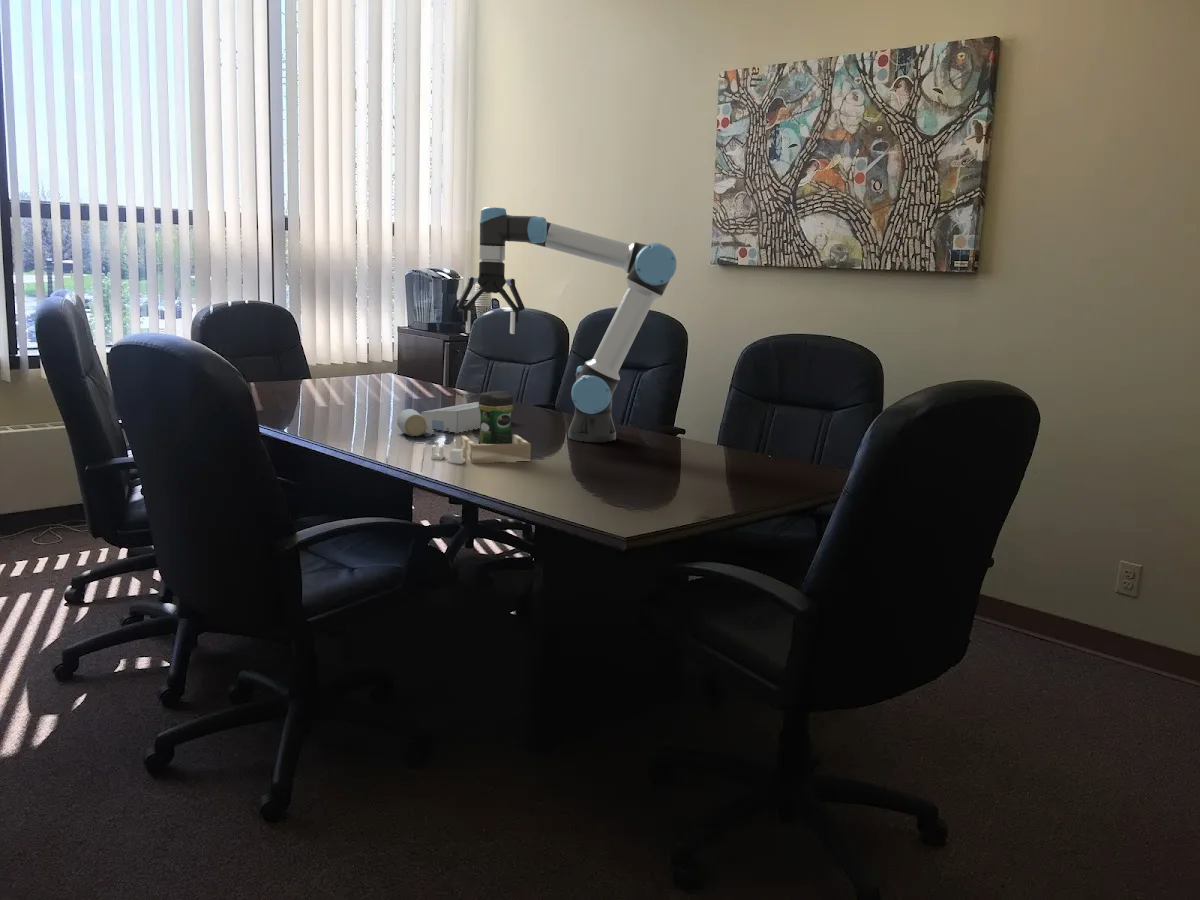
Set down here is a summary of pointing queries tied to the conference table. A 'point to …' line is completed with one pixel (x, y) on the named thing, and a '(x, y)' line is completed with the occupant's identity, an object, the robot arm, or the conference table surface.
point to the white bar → (454, 418)
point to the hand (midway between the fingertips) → (490, 333)
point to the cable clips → (455, 455)
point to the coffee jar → (495, 417)
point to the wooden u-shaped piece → (496, 451)
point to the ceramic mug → (413, 423)
